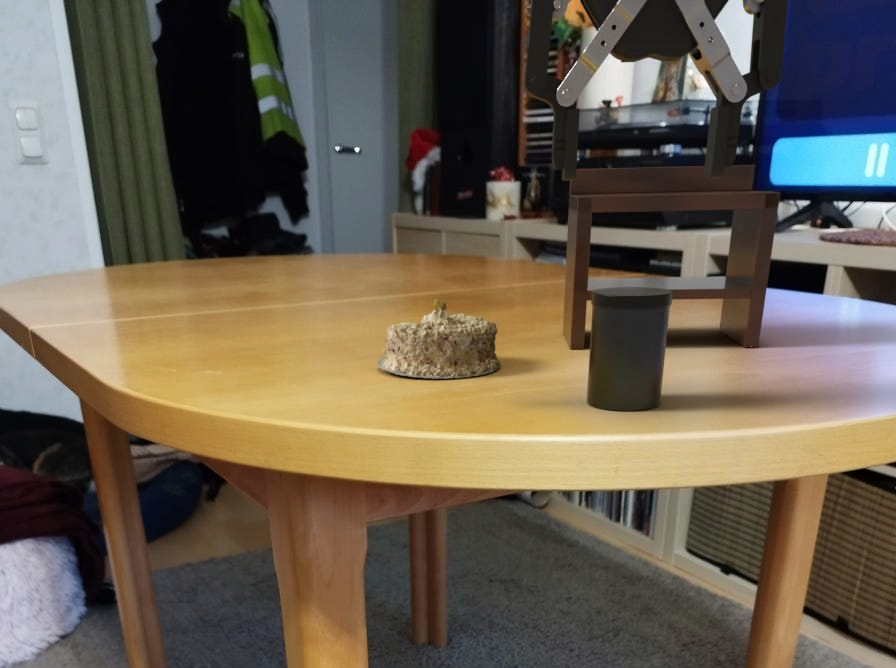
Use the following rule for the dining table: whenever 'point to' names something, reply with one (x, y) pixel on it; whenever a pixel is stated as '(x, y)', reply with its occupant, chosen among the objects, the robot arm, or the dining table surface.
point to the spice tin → (627, 347)
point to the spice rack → (676, 193)
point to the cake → (441, 346)
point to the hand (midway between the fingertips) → (640, 179)
